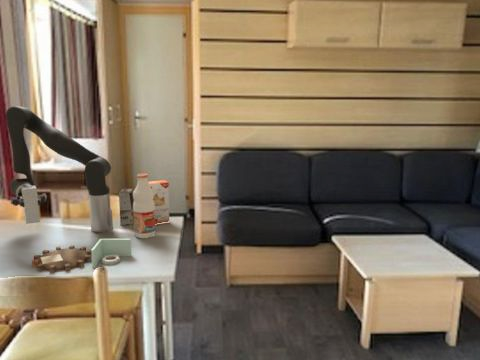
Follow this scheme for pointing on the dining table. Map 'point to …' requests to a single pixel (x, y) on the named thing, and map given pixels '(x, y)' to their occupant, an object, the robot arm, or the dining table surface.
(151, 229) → the fruit juice
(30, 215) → the brushed metal block
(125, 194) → the coffee box
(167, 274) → the dining table surface
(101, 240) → the l-shaped corner panel
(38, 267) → the sprocket plate
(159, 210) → the cracker box
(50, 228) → the dining table surface
